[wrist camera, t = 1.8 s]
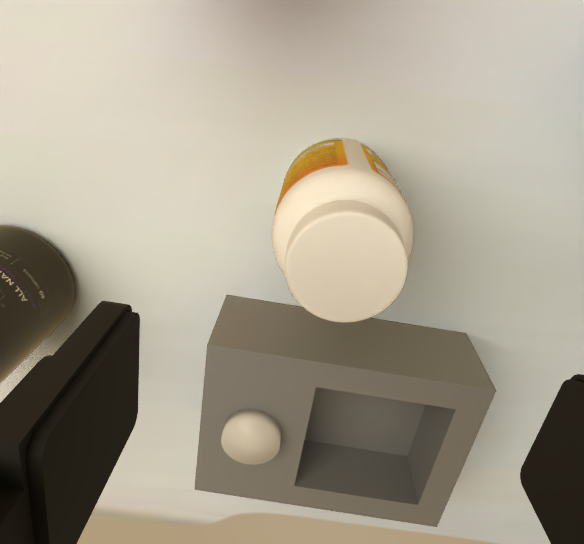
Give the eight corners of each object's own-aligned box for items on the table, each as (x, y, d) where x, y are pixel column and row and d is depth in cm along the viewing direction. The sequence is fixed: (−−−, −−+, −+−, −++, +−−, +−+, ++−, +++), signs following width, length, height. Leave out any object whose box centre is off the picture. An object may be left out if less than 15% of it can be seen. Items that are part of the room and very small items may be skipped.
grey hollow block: (471, 334, 27) (508, 402, 22) (424, 458, 31) (445, 540, 26) (226, 295, 27) (203, 353, 21) (212, 425, 31) (191, 501, 26)
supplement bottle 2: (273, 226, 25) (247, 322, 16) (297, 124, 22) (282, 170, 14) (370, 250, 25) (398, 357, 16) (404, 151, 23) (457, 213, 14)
